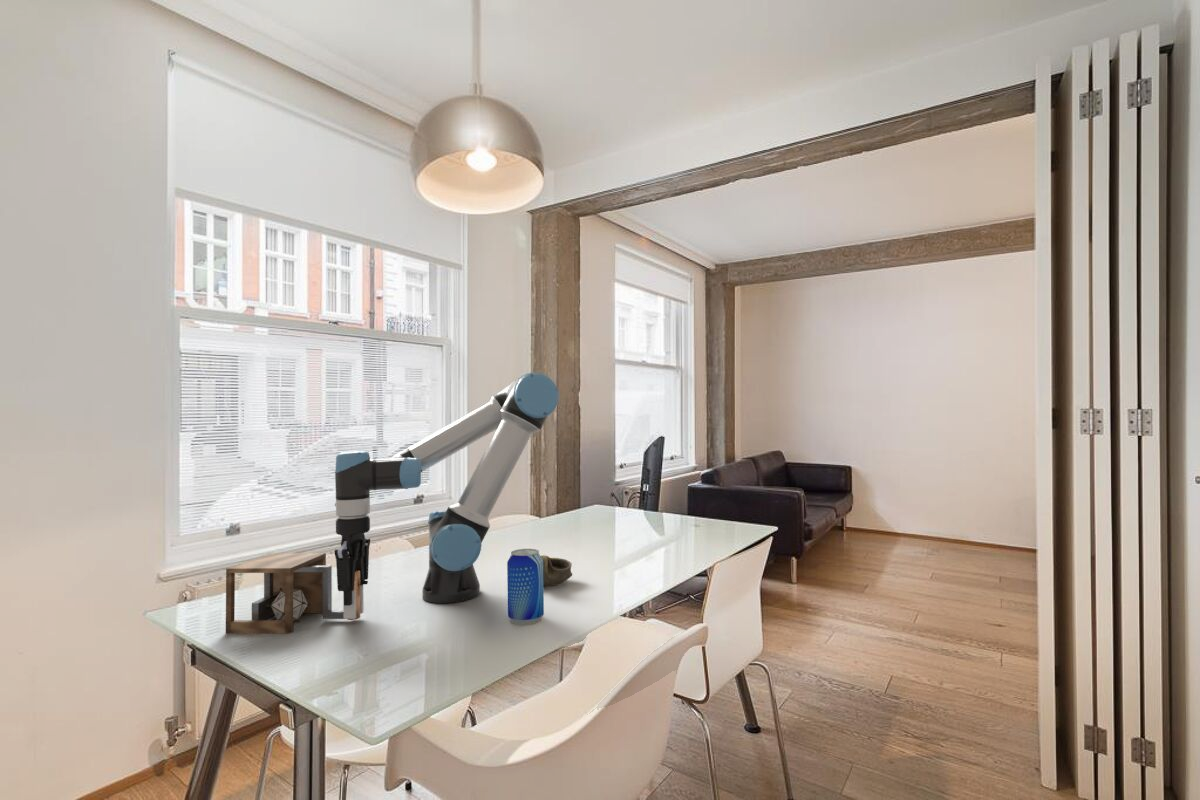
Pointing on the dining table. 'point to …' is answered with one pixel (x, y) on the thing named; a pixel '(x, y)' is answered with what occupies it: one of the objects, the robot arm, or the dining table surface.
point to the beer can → (525, 586)
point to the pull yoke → (265, 613)
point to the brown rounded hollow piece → (555, 570)
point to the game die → (298, 604)
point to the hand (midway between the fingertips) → (353, 615)
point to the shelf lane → (277, 588)
